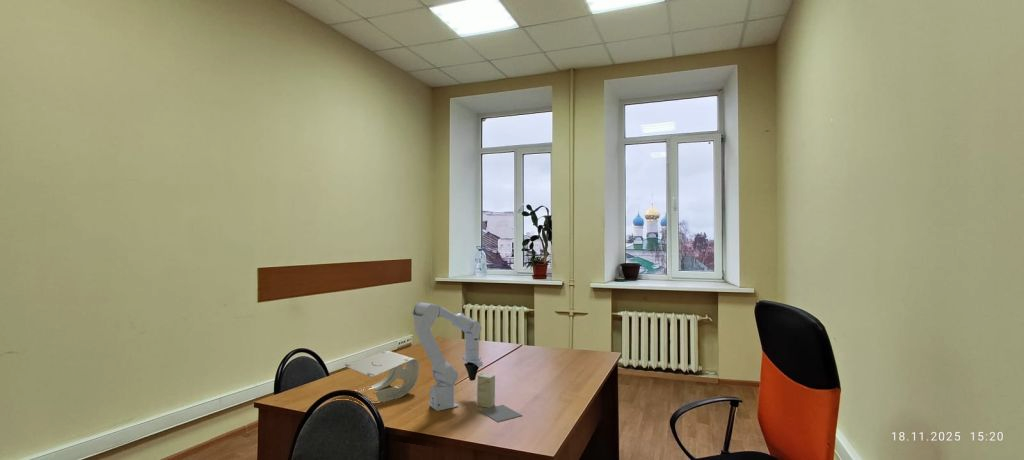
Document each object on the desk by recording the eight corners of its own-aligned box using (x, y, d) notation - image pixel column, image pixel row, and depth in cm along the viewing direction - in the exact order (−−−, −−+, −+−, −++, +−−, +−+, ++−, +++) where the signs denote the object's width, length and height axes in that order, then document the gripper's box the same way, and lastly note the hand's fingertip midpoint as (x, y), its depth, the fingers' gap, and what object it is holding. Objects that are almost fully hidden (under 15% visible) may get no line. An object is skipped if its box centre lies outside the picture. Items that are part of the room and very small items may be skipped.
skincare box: (476, 405, 187) (476, 375, 188) (482, 402, 191) (482, 373, 192) (490, 408, 185) (489, 377, 185) (495, 404, 188) (495, 374, 189)
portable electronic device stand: (420, 393, 205) (420, 358, 205) (371, 406, 188) (371, 368, 189) (391, 381, 223) (391, 349, 224) (343, 392, 207) (343, 357, 207)
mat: (497, 422, 170) (497, 421, 170) (479, 411, 182) (479, 410, 182) (522, 415, 176) (522, 415, 176) (502, 405, 188) (502, 404, 188)
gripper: (488, 350, 195) (488, 382, 194) (472, 344, 207) (472, 374, 206) (473, 352, 191) (474, 385, 190) (458, 346, 203) (458, 377, 203)
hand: (472, 380), depth 198 cm, fingers closed
